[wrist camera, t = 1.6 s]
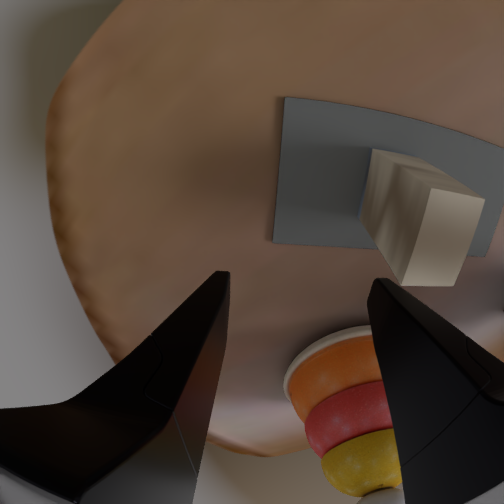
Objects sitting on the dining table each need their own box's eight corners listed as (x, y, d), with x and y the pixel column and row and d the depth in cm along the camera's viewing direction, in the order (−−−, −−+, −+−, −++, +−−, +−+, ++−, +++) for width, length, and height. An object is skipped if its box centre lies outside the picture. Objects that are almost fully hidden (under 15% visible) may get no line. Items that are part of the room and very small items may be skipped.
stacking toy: (390, 392, 32) (424, 529, 16) (279, 403, 33) (284, 557, 16) (429, 308, 25) (509, 489, 8) (285, 318, 26) (300, 558, 9)
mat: (483, 255, 22) (484, 256, 22) (272, 241, 22) (272, 243, 21) (514, 153, 17) (516, 154, 17) (284, 97, 17) (285, 97, 16)
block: (400, 220, 20) (453, 286, 13) (357, 216, 20) (400, 285, 13) (415, 155, 18) (485, 199, 11) (369, 146, 18) (431, 187, 11)
